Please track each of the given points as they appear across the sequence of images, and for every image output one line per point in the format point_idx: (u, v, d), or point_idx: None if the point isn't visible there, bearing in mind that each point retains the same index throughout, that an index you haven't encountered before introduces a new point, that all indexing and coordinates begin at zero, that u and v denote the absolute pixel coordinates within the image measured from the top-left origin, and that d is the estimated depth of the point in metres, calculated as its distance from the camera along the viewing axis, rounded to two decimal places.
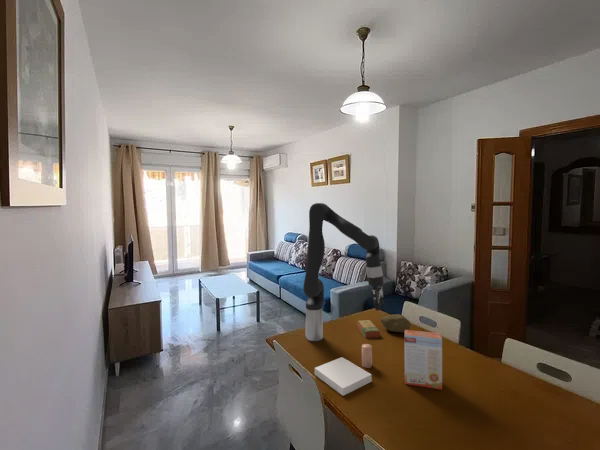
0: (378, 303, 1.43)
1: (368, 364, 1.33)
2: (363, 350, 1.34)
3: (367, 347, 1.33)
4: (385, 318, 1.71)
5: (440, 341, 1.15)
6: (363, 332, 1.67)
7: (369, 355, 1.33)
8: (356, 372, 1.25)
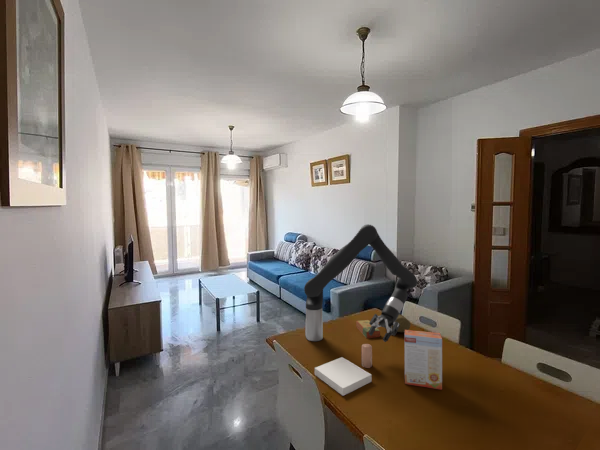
0: None
1: (368, 364, 1.33)
2: (363, 350, 1.34)
3: (367, 347, 1.33)
4: None
5: (440, 341, 1.15)
6: (363, 332, 1.67)
7: (369, 355, 1.33)
8: (356, 372, 1.25)
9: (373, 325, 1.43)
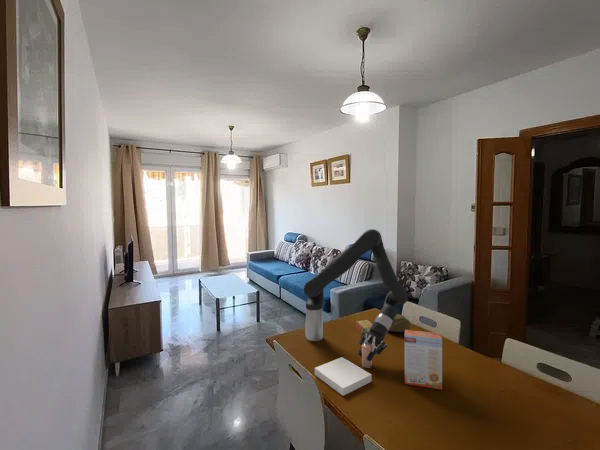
0: None
1: (368, 364, 1.33)
2: (363, 350, 1.34)
3: (367, 347, 1.33)
4: None
5: (440, 341, 1.15)
6: (364, 332, 1.67)
7: None
8: (356, 372, 1.25)
9: None
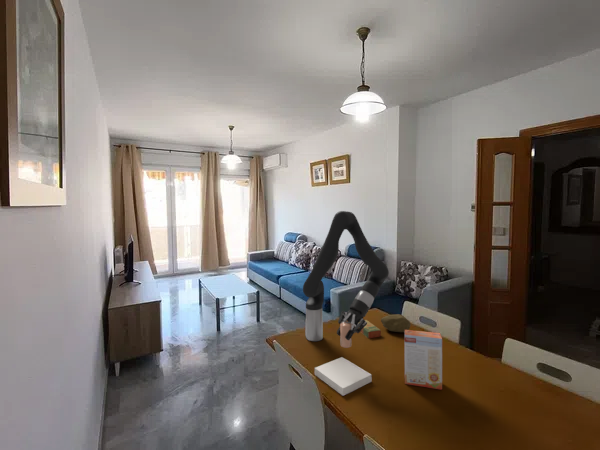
0: None
1: (347, 344, 1.24)
2: (342, 328, 1.24)
3: (345, 326, 1.24)
4: (385, 318, 1.71)
5: (440, 341, 1.15)
6: (364, 332, 1.66)
7: None
8: (356, 372, 1.25)
9: None
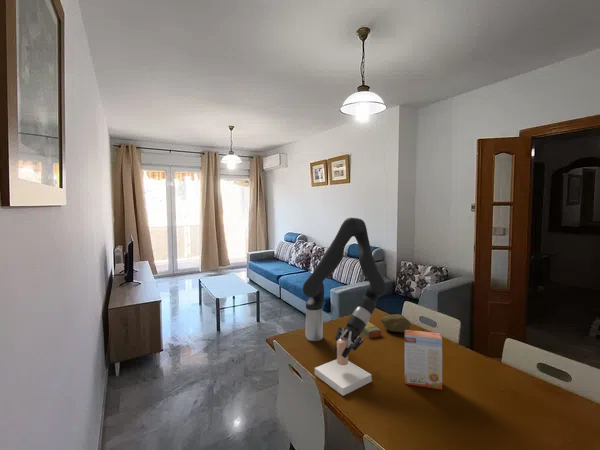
0: None
1: (343, 361, 1.23)
2: (338, 346, 1.23)
3: (342, 343, 1.23)
4: (385, 318, 1.71)
5: (440, 341, 1.15)
6: (365, 332, 1.66)
7: None
8: (356, 372, 1.25)
9: None
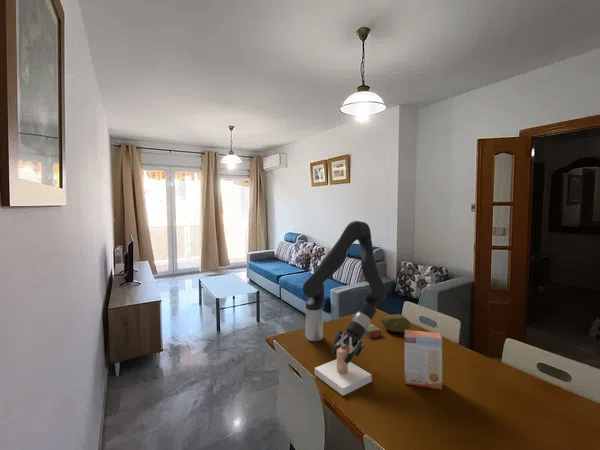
0: (351, 356, 1.22)
1: (343, 370, 1.23)
2: (338, 355, 1.24)
3: (342, 352, 1.23)
4: (385, 318, 1.71)
5: (440, 341, 1.15)
6: (365, 332, 1.66)
7: None
8: (356, 372, 1.25)
9: (337, 344, 1.28)
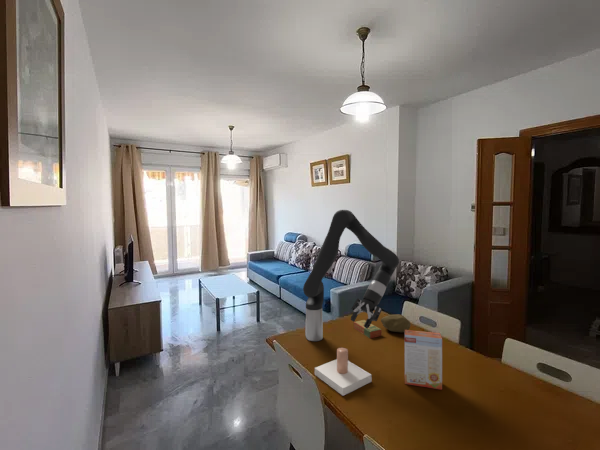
0: (370, 321, 1.30)
1: (343, 370, 1.23)
2: (338, 354, 1.24)
3: (342, 352, 1.24)
4: (385, 318, 1.71)
5: (440, 341, 1.15)
6: (365, 333, 1.66)
7: (345, 360, 1.23)
8: (356, 372, 1.25)
9: (355, 311, 1.36)
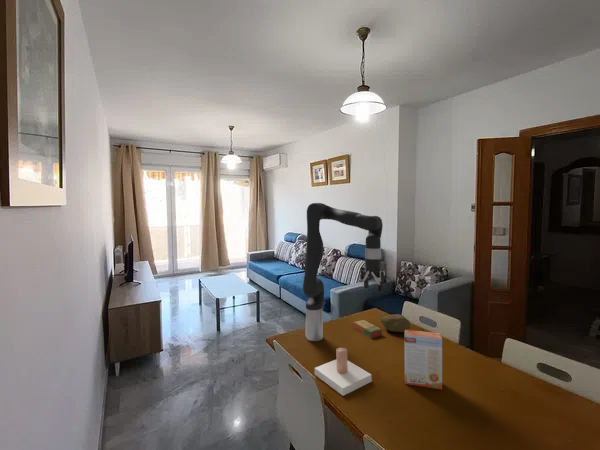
0: None
1: (343, 370, 1.23)
2: (338, 354, 1.24)
3: (341, 351, 1.24)
4: (385, 318, 1.71)
5: (440, 341, 1.15)
6: (366, 333, 1.66)
7: (344, 360, 1.23)
8: (356, 372, 1.25)
9: (365, 279, 1.46)
